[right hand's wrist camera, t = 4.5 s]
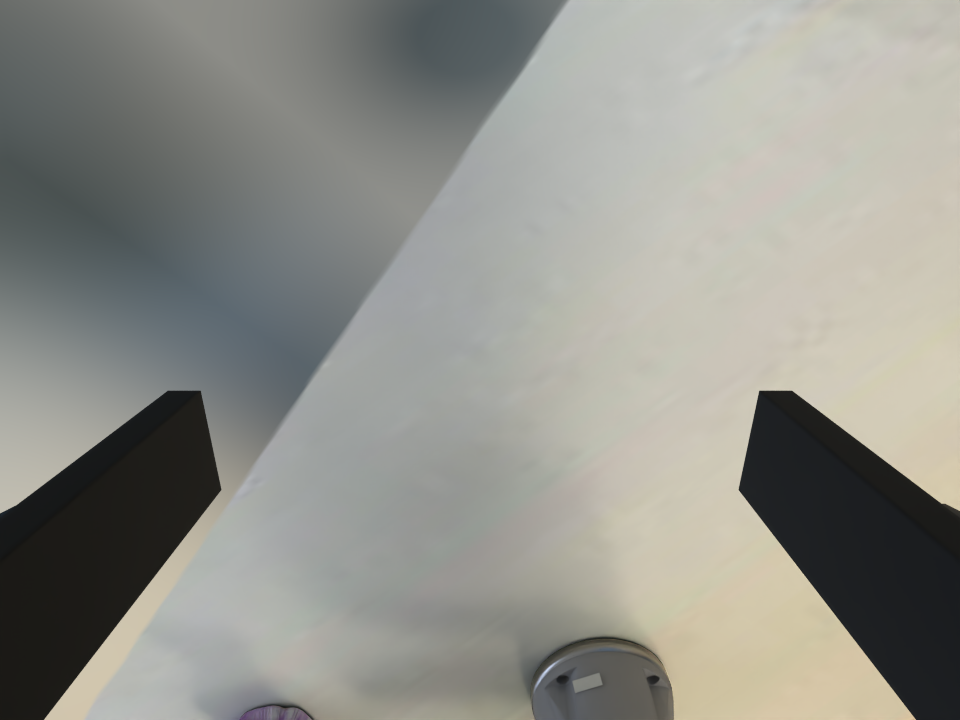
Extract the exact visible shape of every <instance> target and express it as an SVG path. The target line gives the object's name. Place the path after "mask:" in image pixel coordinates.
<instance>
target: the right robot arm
mask: <svg viewBox="0 0 960 720" xmlns="http://www.w3.org/2000/svg"><path fill="white" fill-rule="evenodd" d="M220 491H221V486H220V481H219V476H218V472H217V467H216V462H215V457H214V452H213V448H212V443H211V438H210V433H209V428H208V424H207V419H206V414H205V409H204V405H203V400H202V395H201V391H167V392H166V393H164V394H163V395H162V396H160V397H159V398H158V399H156V400H155V401H154V402H153V403H151V404H150V405H149V406H147V407H146V408H145V409H143V410H142V411H141V412H139V413H138V414H137V415H135V416H134V417H133V418H131V419H130V420H129V421H127V422H126V423H125V424H123V425H122V426H121V427H119V428H118V429H117V430H116V431H114V432H113V433H112V434H110V435H109V436H108V437H106V438H105V439H104V440H102V441H101V442H100V443H98V444H97V445H96V446H94V447H93V448H92V449H90V450H89V451H88V452H86V453H85V454H84V455H82V456H81V457H80V458H78V459H77V460H76V461H75V462H73V463H72V464H71V465H69V466H68V467H67V468H65V469H64V470H63V471H61V472H60V473H59V474H57V475H56V476H55V477H53V478H52V479H51V480H49V481H48V482H47V483H45V484H44V485H43V486H41V487H40V488H39V489H38V490H36V491H35V492H34V493H32V494H31V495H30V496H28V497H27V498H26V499H24V500H23V501H22V502H20V503H19V504H18V505H16V506H14V507H12V508H10V509H8V510H6V511H4V512H2V513H0V720H44V719H45V717H46V716H47V715H48V714H49V712H50V711H51V710H52V708H53V707H54V706H55V705H56V703H57V702H58V701H59V699H60V698H61V697H62V696H63V694H64V693H65V692H66V690H67V689H68V688H69V686H70V685H71V684H72V683H73V681H74V680H75V679H76V677H77V676H78V675H79V673H80V672H81V671H82V670H83V668H84V667H85V666H86V664H87V663H88V662H89V660H90V659H91V658H92V657H93V655H94V654H95V653H96V651H97V650H98V649H99V648H100V646H101V645H102V644H103V642H104V641H105V640H106V639H107V637H108V636H109V635H110V633H111V632H112V631H113V629H114V628H115V627H116V626H117V624H118V623H119V622H120V620H121V619H122V618H123V617H124V615H125V614H126V613H127V611H128V610H129V609H130V607H131V606H132V605H133V604H134V602H135V601H136V600H137V598H138V597H139V596H140V595H141V593H142V592H143V591H144V589H145V588H146V587H147V585H148V584H149V583H150V582H151V580H152V579H153V578H154V576H155V575H156V574H157V572H158V571H159V570H160V569H161V567H162V566H163V565H164V563H165V562H166V561H167V559H168V558H169V557H170V556H171V554H172V553H173V552H174V550H175V549H176V548H177V547H178V545H179V544H180V543H181V541H182V540H183V539H184V537H185V536H186V535H187V534H188V532H189V531H190V530H191V528H192V527H193V526H194V525H195V523H196V522H197V521H198V519H199V518H200V517H201V515H202V514H203V513H204V512H205V510H206V509H207V508H208V506H209V505H210V504H211V503H212V501H213V500H214V499H215V497H216V496H217V495H218V493H219V492H220ZM739 491H740V492H741V494H742V495H743V496H744V497H745V499H746V500H747V501H748V503H749V504H750V505H751V506H752V508H753V509H754V510H755V512H756V513H757V514H758V516H759V517H760V518H761V519H762V521H763V522H764V523H765V525H766V526H767V527H768V528H769V530H770V531H771V532H772V534H773V535H774V536H775V538H776V539H777V540H778V541H779V543H780V544H781V545H782V547H783V548H784V549H785V550H786V552H787V553H788V554H789V556H790V557H791V558H792V560H793V561H794V562H795V563H796V565H797V566H798V567H799V569H800V570H801V571H802V573H803V574H804V575H805V576H806V578H807V579H808V580H809V582H810V583H811V584H812V585H813V587H814V588H815V589H816V591H817V592H818V593H819V595H820V596H821V597H822V598H823V600H824V601H825V602H826V604H827V605H828V606H829V607H830V609H831V610H832V611H833V613H834V614H835V615H836V617H837V618H838V619H839V620H840V622H841V623H842V624H843V626H844V627H845V628H846V629H847V631H848V632H849V633H850V635H851V636H852V637H853V639H854V640H855V641H856V642H857V644H858V645H859V646H860V648H861V649H862V650H863V651H864V653H865V654H866V655H867V657H868V658H869V659H870V661H871V662H872V663H873V664H874V666H875V667H876V668H877V670H878V671H879V672H880V674H881V675H882V676H883V677H884V679H885V680H886V681H887V683H888V684H889V685H890V686H891V688H892V689H893V690H894V692H895V693H896V694H897V696H898V697H899V698H900V699H901V701H902V702H903V703H904V705H905V706H906V707H907V708H908V710H909V711H910V712H911V714H912V715H913V716H914V718H915V719H916V720H960V511H958V510H956V509H954V508H952V507H950V506H948V505H946V504H941V503H940V502H938V501H937V500H936V499H934V498H933V497H932V496H930V495H929V494H928V493H926V492H925V491H924V490H923V489H921V488H920V487H919V486H917V485H916V484H915V483H913V482H912V481H911V480H909V479H908V478H907V477H905V476H904V475H903V474H901V473H900V472H899V471H897V470H896V469H895V468H893V467H892V466H891V465H889V464H888V463H887V462H885V461H884V460H883V459H882V458H880V457H879V456H878V455H876V454H875V453H874V452H872V451H871V450H870V449H868V448H867V447H866V446H864V445H863V444H862V443H860V442H859V441H858V440H856V439H855V438H854V437H852V436H851V435H850V434H848V433H847V432H846V431H844V430H843V429H842V428H841V427H839V426H838V425H837V424H835V423H834V422H833V421H831V420H830V419H829V418H827V417H826V416H825V415H823V414H822V413H821V412H819V411H818V410H817V409H815V408H814V407H813V406H811V405H810V404H809V403H807V402H806V401H805V400H804V399H802V398H801V397H800V396H798V395H797V394H796V393H794V392H793V391H759V395H758V400H757V405H756V409H755V414H754V419H753V424H752V428H751V433H750V438H749V443H748V448H747V452H746V457H745V462H744V467H743V471H742V476H741V481H740V486H739ZM531 700H532V709H533V713H534V716H535V720H674V709H673V694H672V687H671V684H670V681H669V679H668V676H667V673H666V670H665V668H664V666H663V665H662V663H661V662H660V660H659V659H658V658H657V657H656V656H655V655H654V654H653V653H651V652H650V651H649V650H647V649H645V648H643V647H641V646H639V645H637V644H634V643H631V642H628V641H624V640H618V639H592V640H586V641H582V642H578V643H575V644H572V645H569V646H567V647H564V648H563V649H561V650H559V651H557V652H556V653H554V654H553V655H551V656H550V657H549V658H548V659H546V660H545V661H544V662H543V663H542V665H541V666H540V667H539V668H538V670H537V672H536V673H535V675H534V678H533V680H532V684H531Z"/></svg>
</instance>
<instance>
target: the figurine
mask: <svg viewBox="0 0 960 720" xmlns="http://www.w3.org/2000/svg"><path fill="white" fill-rule="evenodd" d="M239 720H312V719H311V718H309V716H308V715H306V714H305V712H303V711H301V709H298V708H294V707H292V708H282V707H280V706H273V705H272V706H266V707H262V708H257V709H254V710H251V711H248V712H246V713H245V714H244V715H243V716H242V717H241V718H240V719H239Z"/></svg>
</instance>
